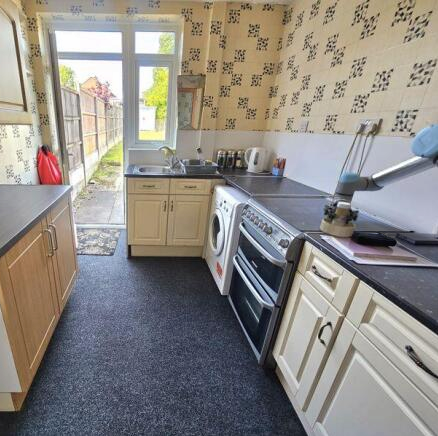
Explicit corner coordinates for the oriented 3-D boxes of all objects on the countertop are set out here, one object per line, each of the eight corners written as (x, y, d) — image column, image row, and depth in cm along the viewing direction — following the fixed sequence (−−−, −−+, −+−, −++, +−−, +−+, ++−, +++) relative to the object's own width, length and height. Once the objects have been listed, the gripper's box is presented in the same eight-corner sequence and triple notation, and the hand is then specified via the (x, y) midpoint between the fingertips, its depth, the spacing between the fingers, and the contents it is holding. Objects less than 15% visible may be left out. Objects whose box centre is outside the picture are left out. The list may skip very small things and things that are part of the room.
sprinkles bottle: (334, 233, 110) (344, 204, 105) (327, 229, 114) (335, 201, 109) (344, 232, 110) (353, 204, 105) (336, 228, 115) (345, 201, 110)
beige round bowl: (348, 230, 115) (352, 220, 113) (354, 240, 105) (358, 229, 103) (317, 225, 120) (320, 215, 118) (321, 234, 110) (324, 224, 108)
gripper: (361, 217, 119) (363, 233, 102) (318, 210, 129) (313, 222, 112) (366, 203, 117) (369, 216, 99) (322, 196, 127) (318, 207, 109)
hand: (339, 219), depth 106 cm, fingers open, 5 cm apart
